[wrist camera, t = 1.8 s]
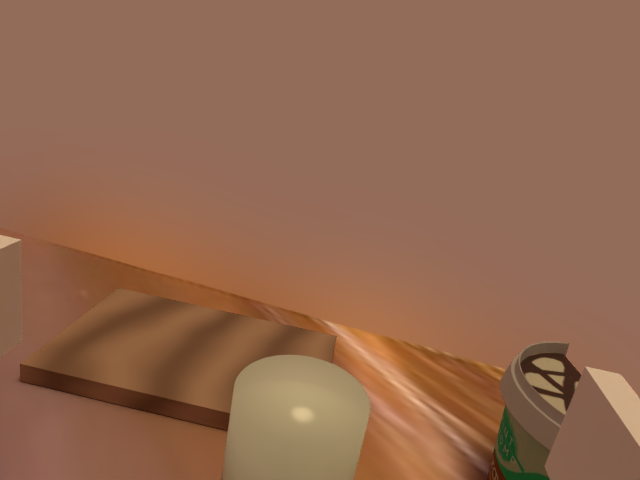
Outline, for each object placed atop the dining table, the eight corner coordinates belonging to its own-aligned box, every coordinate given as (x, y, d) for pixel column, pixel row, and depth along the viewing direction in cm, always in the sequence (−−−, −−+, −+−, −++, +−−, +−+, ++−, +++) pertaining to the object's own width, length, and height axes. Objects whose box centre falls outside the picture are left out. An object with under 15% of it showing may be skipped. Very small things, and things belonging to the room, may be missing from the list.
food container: (447, 439, 39) (482, 326, 36) (523, 449, 40) (565, 338, 36) (505, 599, 27) (565, 453, 24) (611, 610, 28) (685, 469, 25)
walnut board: (333, 349, 49) (336, 336, 48) (312, 450, 35) (316, 433, 35) (117, 301, 50) (118, 287, 50) (20, 381, 37) (19, 363, 36)
